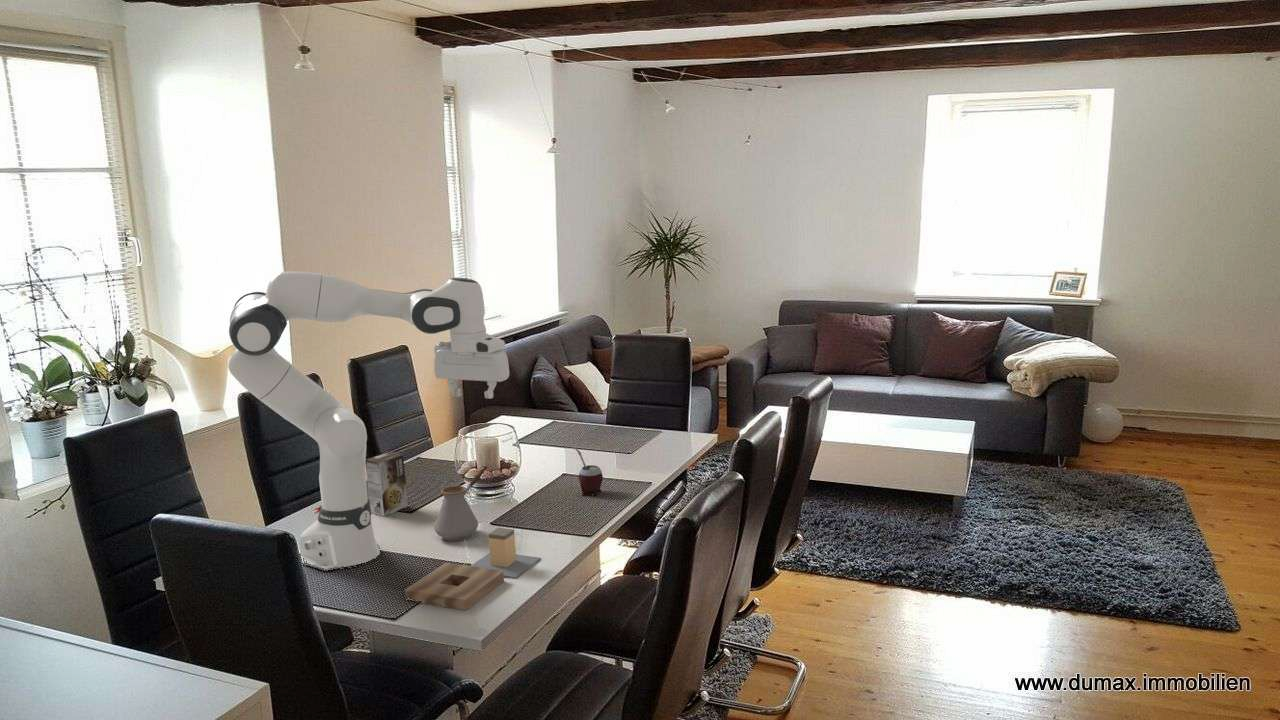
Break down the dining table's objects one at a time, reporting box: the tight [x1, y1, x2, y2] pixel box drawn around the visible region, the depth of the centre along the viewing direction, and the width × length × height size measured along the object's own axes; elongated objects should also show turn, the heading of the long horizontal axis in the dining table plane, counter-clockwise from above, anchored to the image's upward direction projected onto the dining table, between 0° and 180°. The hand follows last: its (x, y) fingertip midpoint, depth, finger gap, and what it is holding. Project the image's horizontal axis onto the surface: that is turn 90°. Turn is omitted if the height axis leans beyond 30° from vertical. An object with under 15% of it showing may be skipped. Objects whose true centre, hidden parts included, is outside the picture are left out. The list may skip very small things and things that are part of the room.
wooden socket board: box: [404, 562, 505, 612], centre depth 212 cm, size 16×16×2 cm
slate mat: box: [470, 552, 542, 580], centre depth 226 cm, size 14×12×1 cm
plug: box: [487, 527, 517, 567], centre depth 225 cm, size 4×4×8 cm
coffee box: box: [365, 451, 409, 517], centre depth 267 cm, size 9×6×16 cm
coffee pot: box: [434, 465, 492, 542], centre depth 249 cm, size 21×12×15 cm, turn 153°
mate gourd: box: [570, 444, 604, 497], centre depth 274 cm, size 8×8×15 cm
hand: (473, 397), depth 232 cm, fingers open, 8 cm apart
